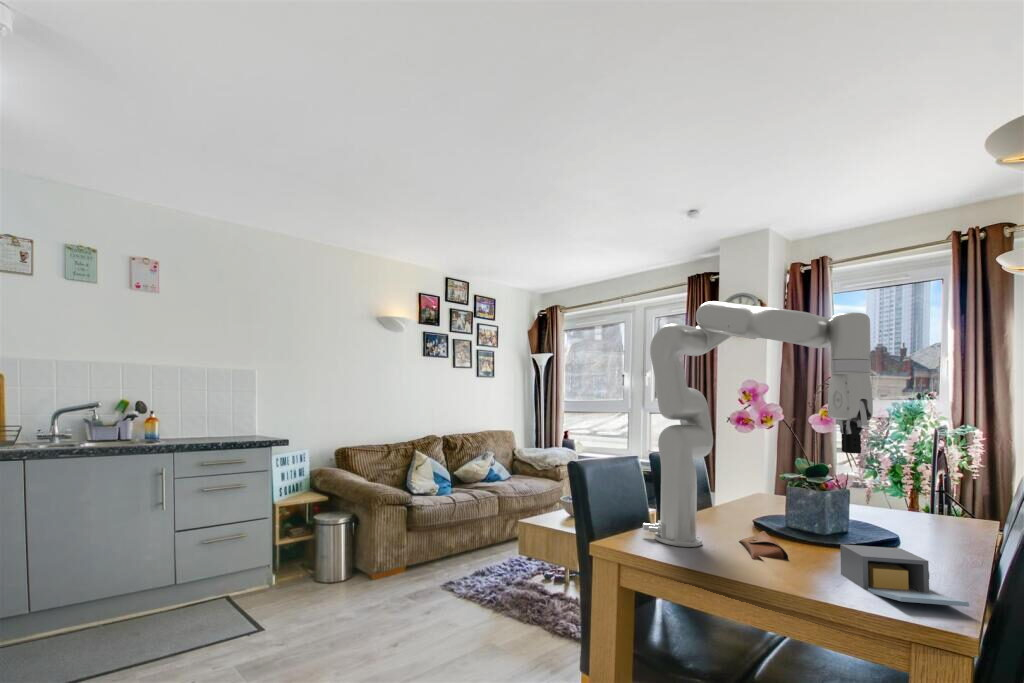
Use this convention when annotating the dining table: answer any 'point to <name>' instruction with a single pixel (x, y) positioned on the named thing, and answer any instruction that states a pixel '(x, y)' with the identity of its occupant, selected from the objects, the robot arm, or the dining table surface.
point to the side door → (918, 597)
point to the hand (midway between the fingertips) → (851, 452)
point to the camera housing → (884, 567)
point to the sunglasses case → (763, 547)
